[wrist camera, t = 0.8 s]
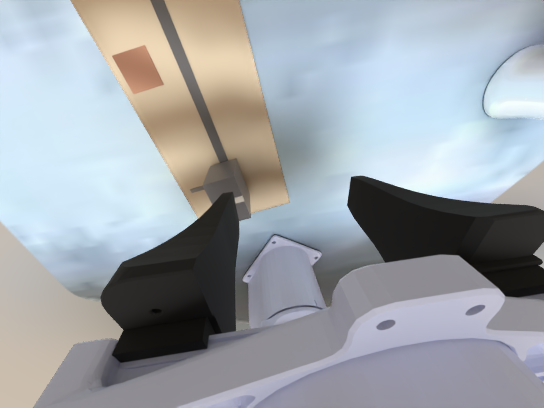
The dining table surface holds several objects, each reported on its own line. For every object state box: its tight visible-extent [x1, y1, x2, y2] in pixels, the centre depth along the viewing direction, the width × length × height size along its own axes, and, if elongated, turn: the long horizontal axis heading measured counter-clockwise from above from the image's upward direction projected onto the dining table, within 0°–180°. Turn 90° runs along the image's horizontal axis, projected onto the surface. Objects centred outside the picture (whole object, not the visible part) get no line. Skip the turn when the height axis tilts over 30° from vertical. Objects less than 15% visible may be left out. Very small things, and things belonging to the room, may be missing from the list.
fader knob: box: [202, 158, 251, 221], centre depth 18 cm, size 4×2×4 cm, turn 15°
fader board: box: [71, 0, 290, 219], centre depth 17 cm, size 20×10×2 cm, turn 15°
